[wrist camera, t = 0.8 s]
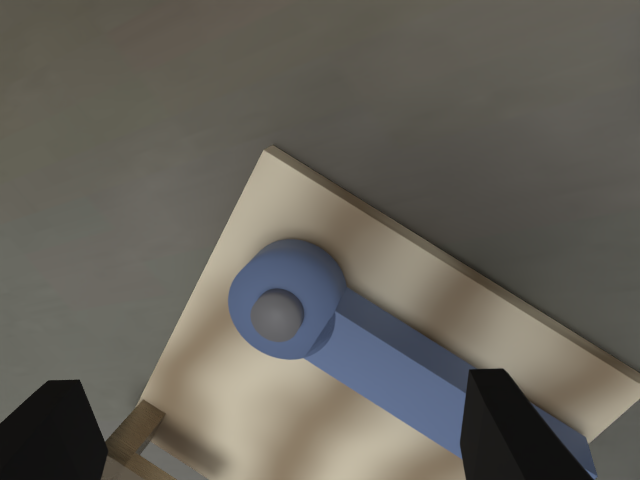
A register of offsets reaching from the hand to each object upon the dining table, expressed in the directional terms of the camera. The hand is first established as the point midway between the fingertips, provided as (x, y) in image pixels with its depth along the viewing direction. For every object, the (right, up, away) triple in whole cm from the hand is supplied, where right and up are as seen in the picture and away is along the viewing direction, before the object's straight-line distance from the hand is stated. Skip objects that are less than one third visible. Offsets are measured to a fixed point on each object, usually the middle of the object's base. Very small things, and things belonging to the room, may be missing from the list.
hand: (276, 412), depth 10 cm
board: (+2, -5, +19) cm, 20 cm away
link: (+5, -2, +15) cm, 16 cm away
